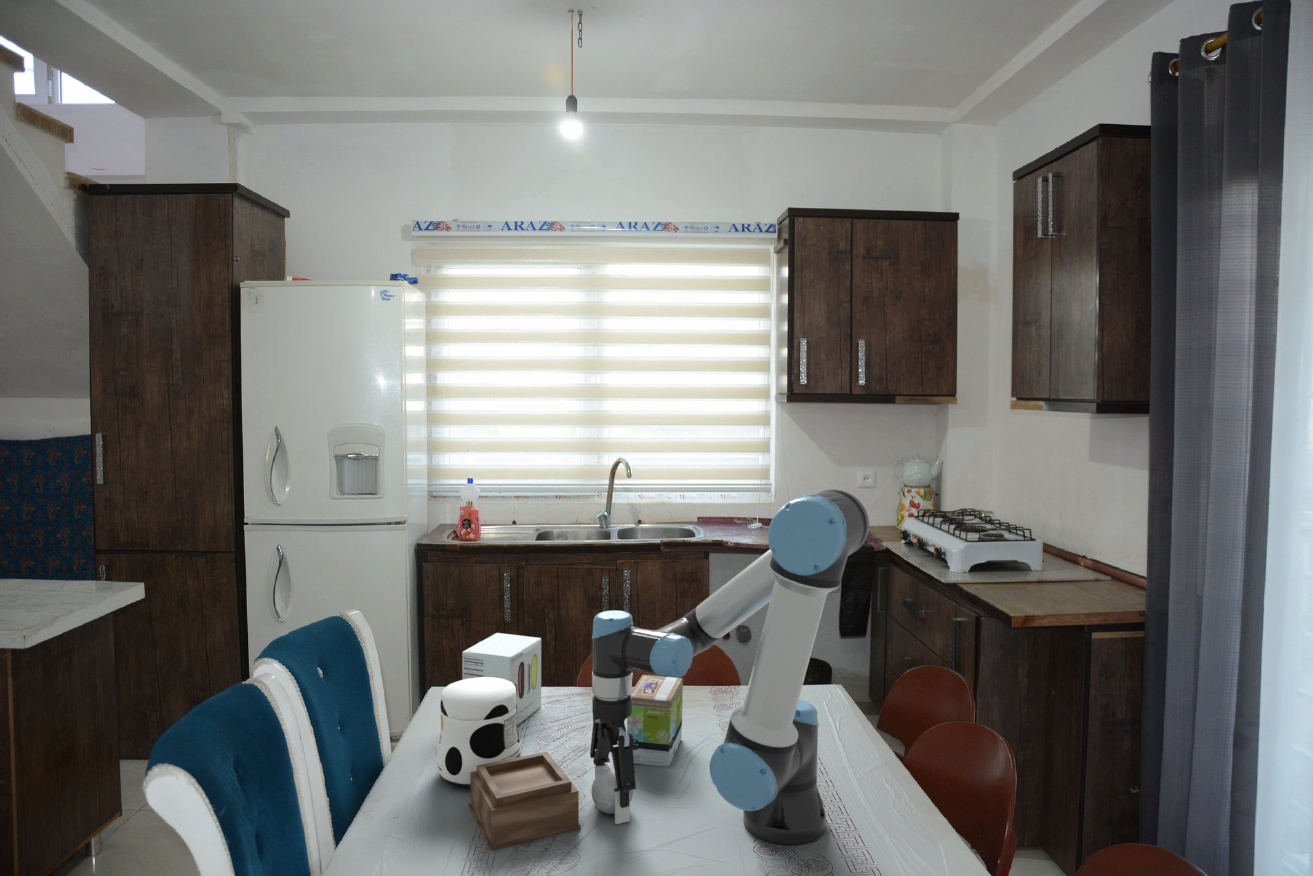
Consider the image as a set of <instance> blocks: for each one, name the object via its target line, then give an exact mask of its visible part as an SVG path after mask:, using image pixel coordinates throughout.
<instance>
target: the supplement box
mask: <svg viewBox="0 0 1313 876" xmlns="http://www.w3.org/2000/svg"><path fill="white" fill-rule="evenodd" d="M461 656H462V660H461V662H462V663H461V664H462V666H461V667H462V669H461V670H462V679H461V680H465V679H469V678H479V677H494V678H500V679H505V680H507V681H510V682H512V683H513V684H514V685H515V687H516V694H517V701H516V704H517V726H518V725H520V724H521V723H523V721H524V720H526V719H528V717H529V716H530V717H531V715H533V714H534V713H535V712H536V711H538V710H539V709H541V707H542V638H541V637H537V636H536V637H535V636H527V635H518V634H511V633H509V634H508V633H501V632H496V633H493V634H492V635H490V636H489V637H487V638H485V639H483V640H481V641H479V642H478V643H476V644H474V645H472V646H471V647H468V648H466V649H465V650H463V651H462V654H461Z"/></svg>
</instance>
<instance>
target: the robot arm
mask: <svg viewBox="0 0 1313 876" xmlns="http://www.w3.org/2000/svg"><path fill="white" fill-rule="evenodd" d="M869 530H870V520H869V515H868V511H867V509H866V507H865V506H864V504H863V503H862V502H861V501H860V499H859V498H857V497H856V496H855V495H853V494H851V493H849V492H848V491H845V490H840V489H826V490H822V491H819V492H817V493H816V492H815V493H813V494H806V495H801V496H798V497H796V498H794V499H792V500H789V502H787V503H786V504H784V505H782V506H781V508H780V509H778V510H777V511H776V512H775V514H774V516H773V517H772V520H771V522H770V524H769V527H768V533H767V543H768V548H769V550H767V551H766V552H764V553H763V554H762V555H761V556H759V557H758V558H757V559H755V560H754V561H753V562H751V563H750V564H749V565H748V566H746V567H745V568H744V569H743V570H741V571H740V572H739V573H737V575H735V576H734V577H733V578H731V579H730V580H729V581H727V582H726V583H725V584H724V585H722V586H721V587H720V588H718V589H717V590H716V591H714V592H713V593H712V594H711V595H709V596H708V597H707V598H705V599H704V600H703V601H702V602H700V603H699V604H698V605H696V607H694V608H692V610H690V611H689V612H687V613H686V614H685V615H684V616H682V617H680V618H679V619H677V620H675V621H673V622H671V623H668V624H667V625H665V626H663V627H659V628H658V629H647V628H646V629H645V628H641V627H638V626H634V622H633V621H634V620H633V615H632V614H631V613H629V612H626V611H625V610H624V611H623V610H616V609H615V610H606V611H605V610H604V611H601V612H599V613H597V614H596V615H595V616H594V618H593V623H592V636H591V641H592V671H591V672H592V673H591V685H592V686H591V687H592V688H591V690H592V691H591V692H592V694H593V695H592V700H591V701H592V707H591V708H592V730H591V738H590V739H591V741H590V749H589V750H590V751H589V756H590V758H591V759H593V765H594V779H595V778H596V777H597V775H598V774H599V773H601V772H602V771H603V770H606V769H609V768H610V764H609V763H611V759H612V763H613V768H614V771H615V776H616V782H617V788H614V791H615V814H614V823H615V825H620V824H624V823H627V822H628V823H629V822H631V821H630V820H631V816H630V815H631V802H630V790H633V791H634V790H636V789H637V782H636V771H635V763H634V758H633V735H632V734H627V727H626V724H625V723H626V722H625V721H626V720H627V718H628V717H629V716H630V715H631V713H632V695H631V694H630V693H631V692H632V690H633V684H632V683H633V679H634V676H635V675H634V674H633V670H636V671H641V672H645V673H650V674H653V675H656V676H661V677H673V678H682V677H683V676H686V674H687V672H688V670H689V669H690V668H691V666H692V663H693V658H694V657H695V656H698V654H701V653H704V652H706V651H707V650H709V649H711V648H712V647H713V646H714V645H715V644H716V643H717V641H718V640H720V639H721V638H723V637H724V636H725V635H726V634H728V633H729V632H730V631H733V629H735V628H736V627H737V626H738V625H740V624H741V623H743V622H745V620H747V619H748V618H750V617H751V616H753V615H754V614H755V613H756V612H758V611H759V610H760V609H762V608H763V607H765V606H766V605H767V604H768V603H769V604H768V606H767V607H768V608H767V611H766V615H765V620H764V623H763V625H762V626H763V628H762V631H761V634H760V635H761V636H760V638H759V642H758V647H757V650H756V654H755V658H754V662H753V666H752V670H751V673H750V677H749V681H748V684H747V685H748V686H747V689H746V694H745V697H744V701H743V705H742V706H741V707H738V708H736V709H735V710H733V711H732V712H731V713H732V714H731V715H730V719H729V722H728V728H727V730H726V735H725V738H724V741H723V743H722V744H720V745H718V746H717V748H716V749H715V751H714V752H713V754H712V756H711V758H710V762H709V774H710V778H711V782H712V784H713V785H714V786H715V787H716V789H717V792H718V794H719V795H720V797H721V798H722V799H724V800H725V801H726V802H727V803H728V804H729V805H731V806H732V807H735V808H736V809H739V810H742V811H743V818H742V819H743V820H742V821H743V824H744V826H745V828H746V829H747V830H748V832H750V834H752V835H753V836H755V837H757V838H759V839H762V840H764V841H766V842H771V843H774V844H779V845H789V846H790V845H793V846H794V845H803V844H807V843H811V842H814V841H816V840H818V839H820V837H822V836H823V835H824V833H825V832H826V827H827V814H826V811H825V808H824V804H823V801H822V798H821V797H822V796H821V794H820V792H819V788H818V787H819V786H818V783H817V782H818V781H817V780H818V740H819V739H818V737H819V735H818V733H819V731H818V730H819V726H820V725H819V721H818V710H817V708H816V707H815V706H814V705H813V704H811V703H810V702H809V701H806V700H803V699H800V698H801V697H800V696H801V693H802V690H803V689H802V688H803V685H804V682H805V678H806V674H807V670H808V666H809V663H810V659H811V655H812V651H813V648H814V645H815V640H816V636H817V633H818V630H819V625H820V622H821V619H822V615H823V611H824V607H825V604H826V600H827V595H828V594H829V593H831V592H833V591H835V590H837V589H839V588H840V584H841V582H842V578H843V573H844V570H845V568H846V563H847V561H848V557H849V556H851V555H853V554H854V553H855V552H857V551H858V550H859V549H860V548H861V547H862V546H863V545H864V543H865V541H866V539H867V537H868V535H869ZM610 753H611V757H612V758H611V759H610V757H609V755H610Z"/></svg>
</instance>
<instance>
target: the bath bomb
mask: <svg viewBox="0 0 1313 876" xmlns="http://www.w3.org/2000/svg"><path fill="white" fill-rule="evenodd" d="M614 788H617V782H616V776H615V771H614V767H609V769H606V770H603V771H602V772H601V773H599V774H598V775H597V777H596V778H595V777H594V779H593V781H592V785H591V798H592V801H593V803H594V805H595V806H596V807H597V809H599V810H600V811H601V812H603V813H605V814H609V815H612V814H614V815H615V791H614ZM633 797H634V790H630V803H631V802H632V799H633Z"/></svg>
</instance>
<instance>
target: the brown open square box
mask: <svg viewBox="0 0 1313 876" xmlns="http://www.w3.org/2000/svg"><path fill="white" fill-rule="evenodd" d="M469 787H470V789H469V790H470V802H469V803H468V809H469V811H470V813H471V815H472V817H473V818H474V820H475V822H476V824H477V826H478V828H479V830H480V832H481V834H482V836H483V838H484V840H485V842H486V843H487V845H488V848H489V849H490V851H491V852H493V851H497V850H502V849H504V848H509V847H513V846H515V845H516V846H517V845H521V844H525V843H530V842H533V841H537V840H540V839H545V838H550V837H553V836H558V835H561V834H564V833H570V832H573V831H577V830H580V829H582V828H581V826H582V824H581V823H580V822H579V812H580V811H579V809H580V808H579V807H580V804H579V803H580V802H579V801H580V799H579V796H580V795H579V789H578V788H577V787H576V786H575V784H573V781H572V780H570V778H569V777H568V776H567V775H566V773H565V772H564V771H563V769H562V768H561V767H560V765H558V763H557V762H556V761H555V760H554V759H553V757H552V756H551V755H550V754H549V753H548V751H542V752H538V753H534V754H533V753H532V754H527V755H523V756H522V755H521V757H517V758H512V759H507V760H502V761H497V762H492V763H487V764H482V765H477V771H474V772H470V786H469Z"/></svg>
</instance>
